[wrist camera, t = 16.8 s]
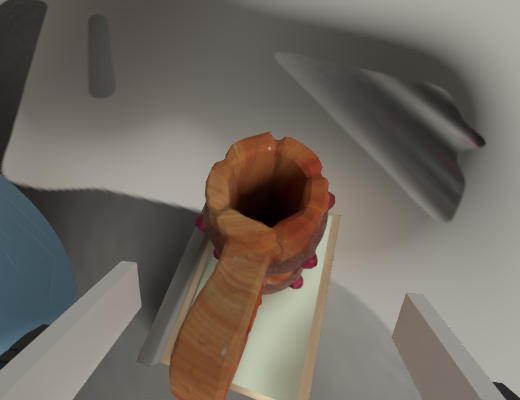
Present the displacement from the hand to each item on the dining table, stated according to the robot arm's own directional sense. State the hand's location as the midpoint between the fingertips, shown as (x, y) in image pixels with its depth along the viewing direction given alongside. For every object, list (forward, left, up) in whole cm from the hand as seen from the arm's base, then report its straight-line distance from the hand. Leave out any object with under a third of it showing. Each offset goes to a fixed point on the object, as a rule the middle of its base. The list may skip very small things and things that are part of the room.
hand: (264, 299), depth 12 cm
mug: (-1, +2, -12) cm, 12 cm away
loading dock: (-2, +2, -16) cm, 16 cm away
